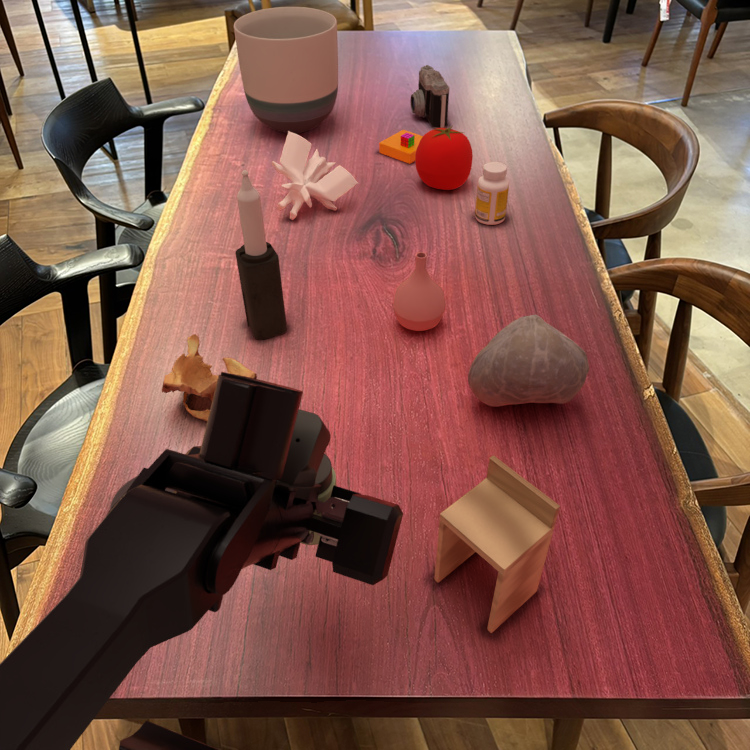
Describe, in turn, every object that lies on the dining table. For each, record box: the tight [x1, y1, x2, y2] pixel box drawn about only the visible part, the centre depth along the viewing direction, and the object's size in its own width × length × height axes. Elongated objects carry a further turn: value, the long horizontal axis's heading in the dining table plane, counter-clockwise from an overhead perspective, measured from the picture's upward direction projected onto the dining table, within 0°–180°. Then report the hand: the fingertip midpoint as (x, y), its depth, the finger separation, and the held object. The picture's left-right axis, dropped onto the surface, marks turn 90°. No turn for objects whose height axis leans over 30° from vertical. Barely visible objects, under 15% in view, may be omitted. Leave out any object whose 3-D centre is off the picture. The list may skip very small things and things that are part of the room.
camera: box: [410, 64, 450, 129], centre depth 157 cm, size 15×7×10 cm, turn 12°
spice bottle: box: [300, 453, 338, 546], centre depth 63 cm, size 5×5×8 cm
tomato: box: [414, 125, 474, 191], centre depth 133 cm, size 10×11×11 cm
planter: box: [233, 6, 339, 134], centre depth 149 cm, size 20×20×21 cm
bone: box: [161, 333, 258, 424], centre depth 92 cm, size 12×10×8 cm
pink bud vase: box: [391, 251, 447, 332], centre depth 102 cm, size 8×8×12 cm
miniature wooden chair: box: [433, 455, 561, 634], centre depth 69 cm, size 7×8×14 cm
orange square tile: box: [378, 129, 424, 165], centre depth 146 cm, size 8×8×4 cm
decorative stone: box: [467, 314, 590, 408], centre depth 88 cm, size 15×10×15 cm
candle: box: [235, 169, 288, 341], centre depth 97 cm, size 5×5×25 cm
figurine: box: [271, 131, 359, 221], centre depth 130 cm, size 15×12×14 cm
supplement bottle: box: [474, 161, 510, 226], centre depth 124 cm, size 5×5×10 cm
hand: (318, 501), depth 66 cm, fingers closed on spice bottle, 5 cm apart
